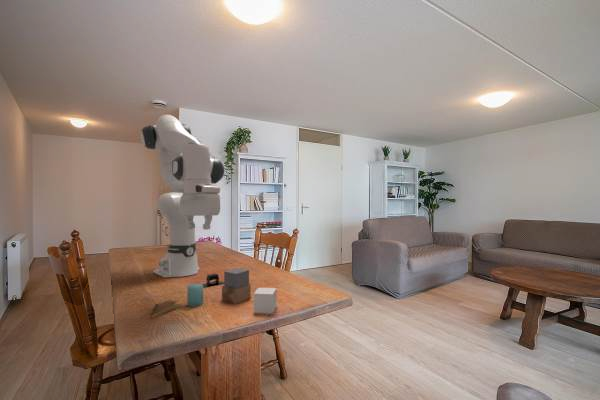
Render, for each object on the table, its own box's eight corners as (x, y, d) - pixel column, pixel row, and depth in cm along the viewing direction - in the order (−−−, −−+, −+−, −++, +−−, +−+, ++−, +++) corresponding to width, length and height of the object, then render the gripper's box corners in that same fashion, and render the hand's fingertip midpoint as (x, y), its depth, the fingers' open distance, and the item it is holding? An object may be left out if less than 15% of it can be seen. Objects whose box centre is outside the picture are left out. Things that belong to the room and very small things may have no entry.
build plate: (223, 281, 121) (223, 270, 121) (230, 284, 115) (230, 274, 115) (194, 286, 113) (194, 275, 113) (200, 290, 108) (200, 279, 108)
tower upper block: (224, 285, 96) (224, 271, 96) (236, 281, 101) (236, 268, 101) (236, 288, 93) (236, 273, 93) (248, 284, 98) (248, 270, 98)
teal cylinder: (184, 304, 91) (184, 286, 91) (196, 300, 95) (197, 283, 96) (193, 307, 89) (193, 289, 89) (206, 303, 93) (206, 285, 93)
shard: (151, 320, 80) (151, 314, 80) (135, 315, 84) (135, 309, 84) (182, 307, 90) (182, 302, 90) (167, 304, 93) (167, 298, 93)
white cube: (276, 306, 90) (276, 288, 90) (272, 314, 84) (272, 294, 84) (258, 305, 90) (258, 287, 90) (253, 313, 84) (253, 293, 84)
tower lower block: (221, 300, 96) (221, 285, 96) (236, 294, 102) (236, 281, 102) (236, 304, 92) (236, 289, 92) (250, 298, 98) (250, 284, 98)
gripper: (174, 190, 99) (175, 228, 99) (206, 186, 86) (207, 230, 86) (190, 191, 104) (191, 227, 103) (223, 187, 91) (224, 229, 91)
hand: (199, 229), depth 94 cm, fingers open, 8 cm apart
